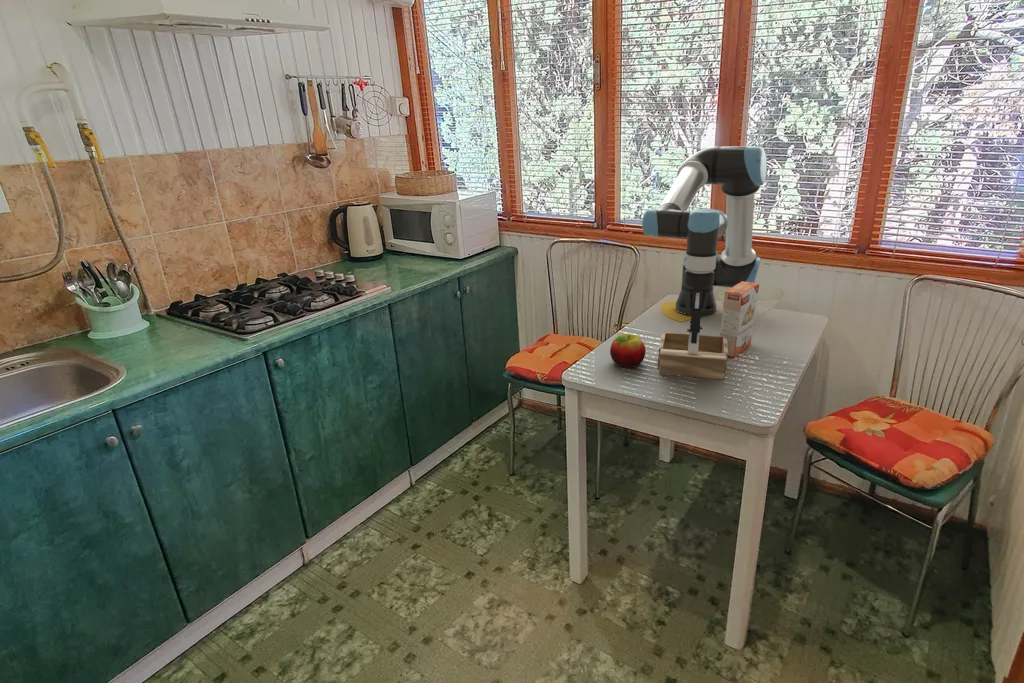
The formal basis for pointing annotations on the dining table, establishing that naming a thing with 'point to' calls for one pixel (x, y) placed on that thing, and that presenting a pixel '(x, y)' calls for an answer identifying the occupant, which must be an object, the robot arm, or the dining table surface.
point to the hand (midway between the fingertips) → (692, 352)
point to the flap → (699, 355)
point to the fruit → (627, 350)
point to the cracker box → (739, 316)
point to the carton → (693, 364)
